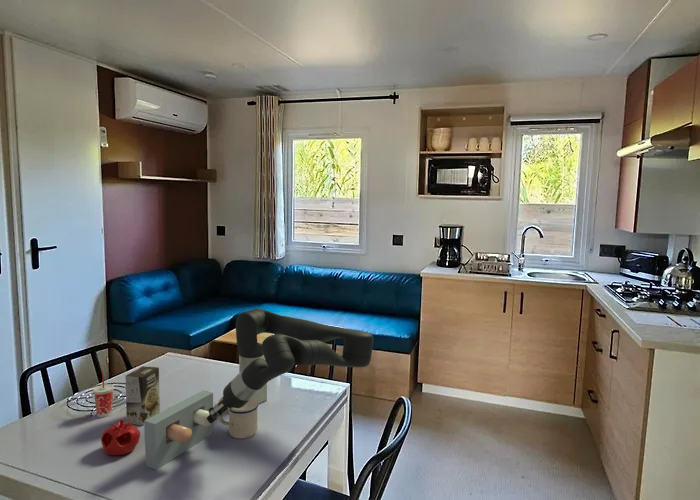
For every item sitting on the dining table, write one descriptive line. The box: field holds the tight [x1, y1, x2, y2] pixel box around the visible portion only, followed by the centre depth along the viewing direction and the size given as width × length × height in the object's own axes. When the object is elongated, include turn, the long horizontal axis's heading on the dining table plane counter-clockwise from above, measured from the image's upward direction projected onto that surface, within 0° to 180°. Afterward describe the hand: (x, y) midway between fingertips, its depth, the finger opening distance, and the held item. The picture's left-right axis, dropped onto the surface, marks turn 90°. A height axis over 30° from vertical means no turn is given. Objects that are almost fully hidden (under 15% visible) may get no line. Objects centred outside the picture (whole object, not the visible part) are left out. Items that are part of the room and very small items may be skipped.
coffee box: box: [125, 365, 161, 426], centre depth 148 cm, size 9×6×16 cm
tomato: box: [100, 418, 141, 456], centre depth 130 cm, size 10×10×9 cm
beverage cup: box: [92, 373, 115, 418], centre depth 150 cm, size 6×6×14 cm
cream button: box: [193, 409, 210, 426], centre depth 134 cm, size 7×4×4 cm, turn 65°
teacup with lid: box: [218, 399, 259, 439], centre depth 141 cm, size 12×9×12 cm
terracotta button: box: [166, 423, 192, 444], centre depth 125 cm, size 7×4×4 cm, turn 65°
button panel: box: [143, 389, 215, 471], centre depth 131 cm, size 4×22×13 cm, turn 155°
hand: (210, 419), depth 132 cm, fingers closed
